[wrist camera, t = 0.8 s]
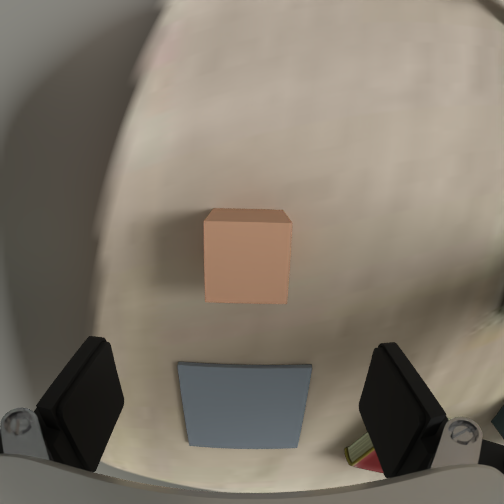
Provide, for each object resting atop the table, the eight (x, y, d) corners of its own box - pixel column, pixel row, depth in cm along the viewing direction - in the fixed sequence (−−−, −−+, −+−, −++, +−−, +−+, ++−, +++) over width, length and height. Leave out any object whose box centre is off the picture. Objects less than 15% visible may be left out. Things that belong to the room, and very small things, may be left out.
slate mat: (311, 364, 31) (312, 367, 31) (296, 444, 35) (297, 447, 35) (178, 361, 31) (177, 364, 31) (190, 442, 35) (189, 445, 34)
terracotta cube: (283, 209, 27) (292, 223, 21) (279, 275, 29) (286, 303, 23) (213, 208, 27) (203, 221, 21) (213, 273, 29) (205, 302, 23)
